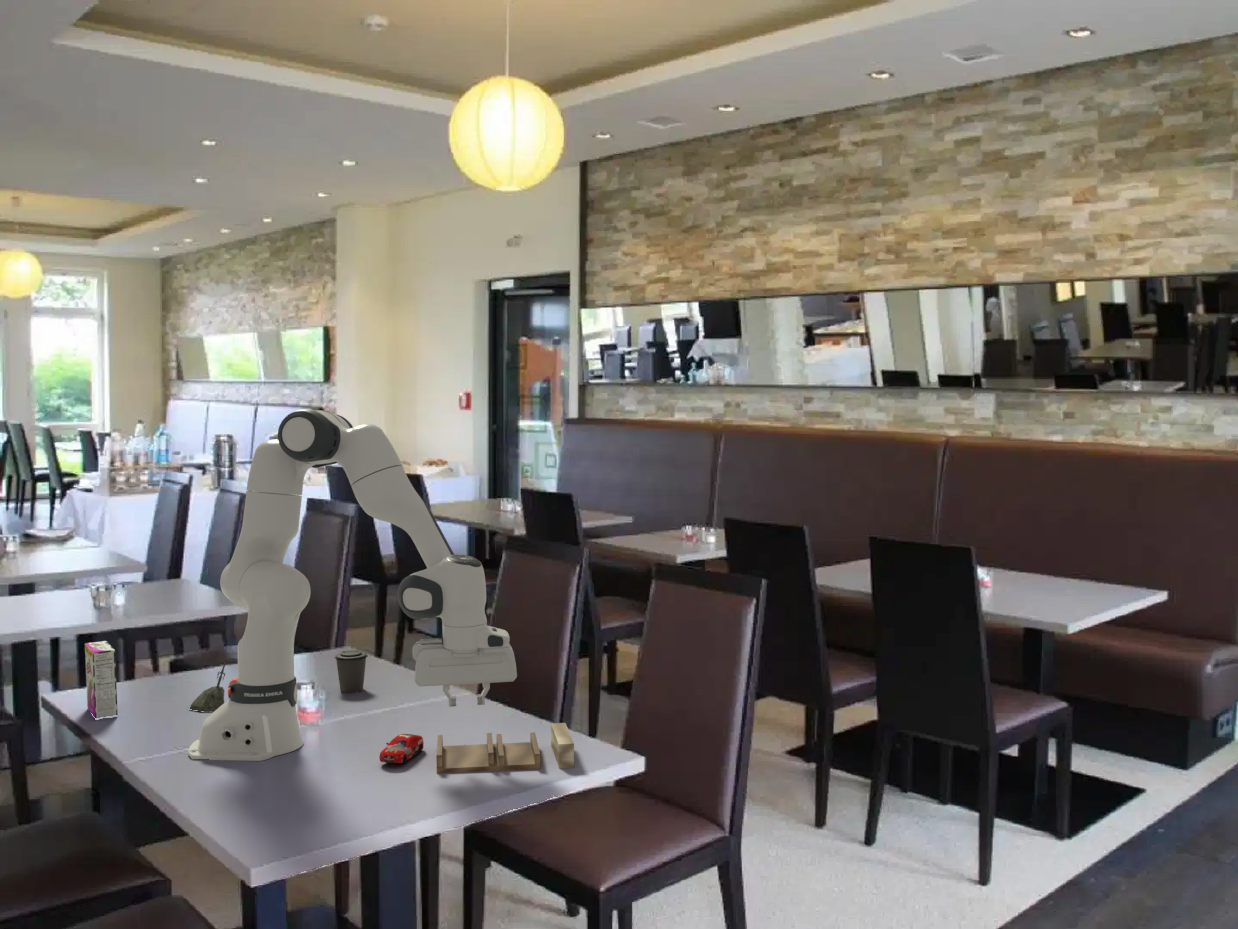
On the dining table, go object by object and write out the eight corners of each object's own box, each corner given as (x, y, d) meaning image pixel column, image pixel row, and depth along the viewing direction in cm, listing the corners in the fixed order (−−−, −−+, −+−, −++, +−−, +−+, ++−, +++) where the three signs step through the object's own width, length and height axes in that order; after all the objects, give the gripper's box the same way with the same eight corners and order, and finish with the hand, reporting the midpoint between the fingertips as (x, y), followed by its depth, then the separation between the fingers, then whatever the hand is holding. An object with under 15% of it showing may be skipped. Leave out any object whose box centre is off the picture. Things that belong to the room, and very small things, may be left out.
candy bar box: (85, 713, 257) (83, 642, 256) (109, 709, 260) (107, 640, 259) (94, 724, 248) (92, 652, 247) (118, 721, 251) (116, 649, 250)
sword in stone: (191, 718, 253) (189, 666, 252) (184, 710, 260) (183, 659, 259) (236, 712, 258) (235, 661, 258) (229, 704, 265) (228, 654, 264)
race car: (400, 768, 217) (400, 747, 216) (374, 765, 218) (375, 745, 218) (428, 749, 229) (428, 730, 229) (403, 747, 231) (404, 727, 231)
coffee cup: (334, 689, 278) (333, 649, 277) (367, 686, 280) (366, 647, 280) (335, 697, 270) (335, 656, 269) (370, 694, 273) (369, 654, 272)
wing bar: (558, 769, 218) (558, 744, 218) (551, 747, 232) (551, 723, 232) (574, 768, 219) (573, 743, 219) (565, 746, 233) (565, 722, 232)
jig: (436, 774, 215) (436, 756, 215) (438, 751, 229) (437, 734, 229) (540, 769, 218) (539, 751, 218) (535, 746, 232) (535, 730, 231)
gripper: (411, 643, 217) (413, 712, 218) (516, 637, 220) (518, 706, 221) (412, 636, 223) (414, 703, 224) (514, 631, 226) (516, 697, 227)
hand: (466, 705), depth 223 cm, fingers open, 4 cm apart
